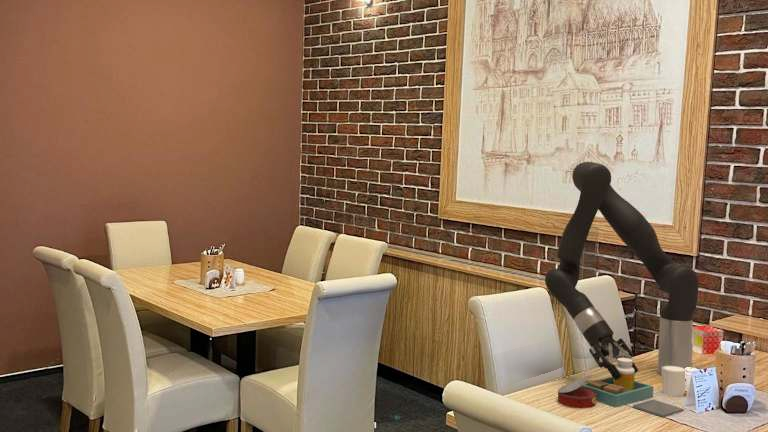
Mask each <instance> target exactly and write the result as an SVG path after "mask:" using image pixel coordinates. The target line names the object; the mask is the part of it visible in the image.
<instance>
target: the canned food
mask: <svg viewBox="0 0 768 432" xmlns="http://www.w3.org/2000/svg"><path fill="white" fill-rule="evenodd" d="M592 376H593V373H591V374H589V375H585V376H584V377H580V378H578V379H576V380H573V381H571V382H569V383H566V384H564V385H562V386H560V387H559V388H558V389H557V402H558V403H559V404H560V405H563V406H564V407H565V406H566V407H568V408H574V409H591V408H594V407H595V406H596V404H597V401H596V392H595V391H593V390H591V389H588V388H584V387H580V386H582V385H583V384H584V383H587V381H588V379H590V378H591V377H592Z"/></svg>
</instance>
